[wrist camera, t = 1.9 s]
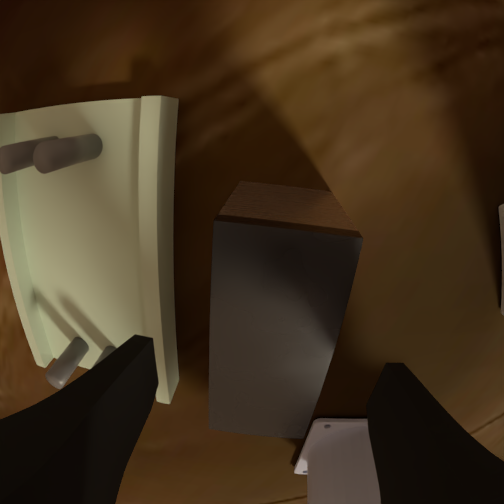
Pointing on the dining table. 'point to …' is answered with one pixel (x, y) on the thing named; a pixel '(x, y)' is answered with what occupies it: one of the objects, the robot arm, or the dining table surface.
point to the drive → (276, 305)
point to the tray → (92, 230)
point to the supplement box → (503, 228)
